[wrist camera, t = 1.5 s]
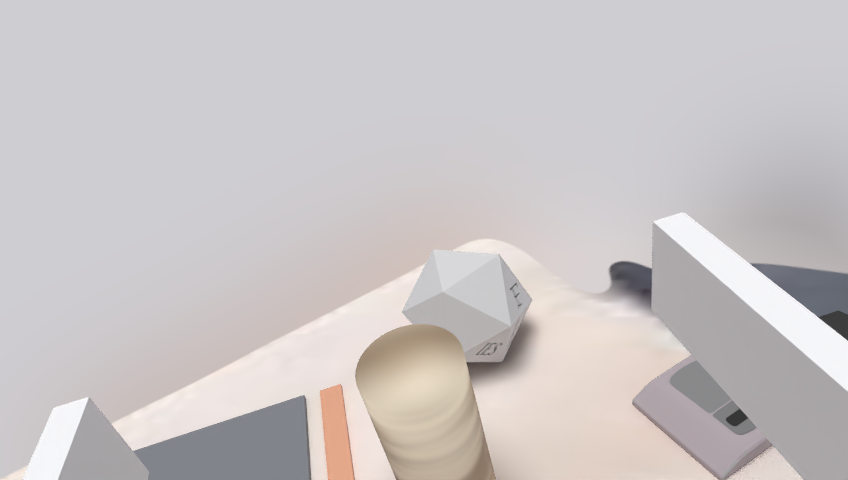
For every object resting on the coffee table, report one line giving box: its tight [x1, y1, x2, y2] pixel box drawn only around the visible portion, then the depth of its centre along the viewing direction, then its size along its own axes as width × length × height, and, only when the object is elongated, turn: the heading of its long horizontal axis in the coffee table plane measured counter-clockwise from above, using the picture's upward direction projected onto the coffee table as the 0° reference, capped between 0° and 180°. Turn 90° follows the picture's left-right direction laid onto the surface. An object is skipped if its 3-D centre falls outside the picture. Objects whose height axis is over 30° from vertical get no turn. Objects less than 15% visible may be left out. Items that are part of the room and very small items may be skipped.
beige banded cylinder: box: [355, 324, 496, 480], centre depth 30 cm, size 5×5×12 cm
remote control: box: [633, 355, 772, 480], centre depth 35 cm, size 7×16×3 cm, turn 117°
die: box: [402, 250, 532, 362], centre depth 41 cm, size 8×9×10 cm
